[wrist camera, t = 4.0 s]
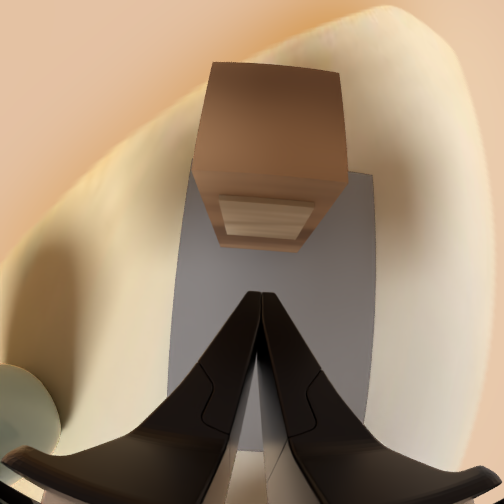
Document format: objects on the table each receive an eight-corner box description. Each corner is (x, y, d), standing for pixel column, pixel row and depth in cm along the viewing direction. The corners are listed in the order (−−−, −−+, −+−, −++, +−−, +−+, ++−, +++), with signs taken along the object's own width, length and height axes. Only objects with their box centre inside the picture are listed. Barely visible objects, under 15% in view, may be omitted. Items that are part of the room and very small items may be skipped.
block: (296, 256, 18) (348, 189, 8) (220, 250, 18) (190, 176, 9) (299, 182, 19) (338, 72, 9) (227, 177, 19) (212, 62, 9)
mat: (357, 446, 16) (359, 448, 16) (167, 438, 16) (166, 441, 16) (370, 177, 20) (372, 175, 19) (193, 161, 20) (192, 158, 20)
